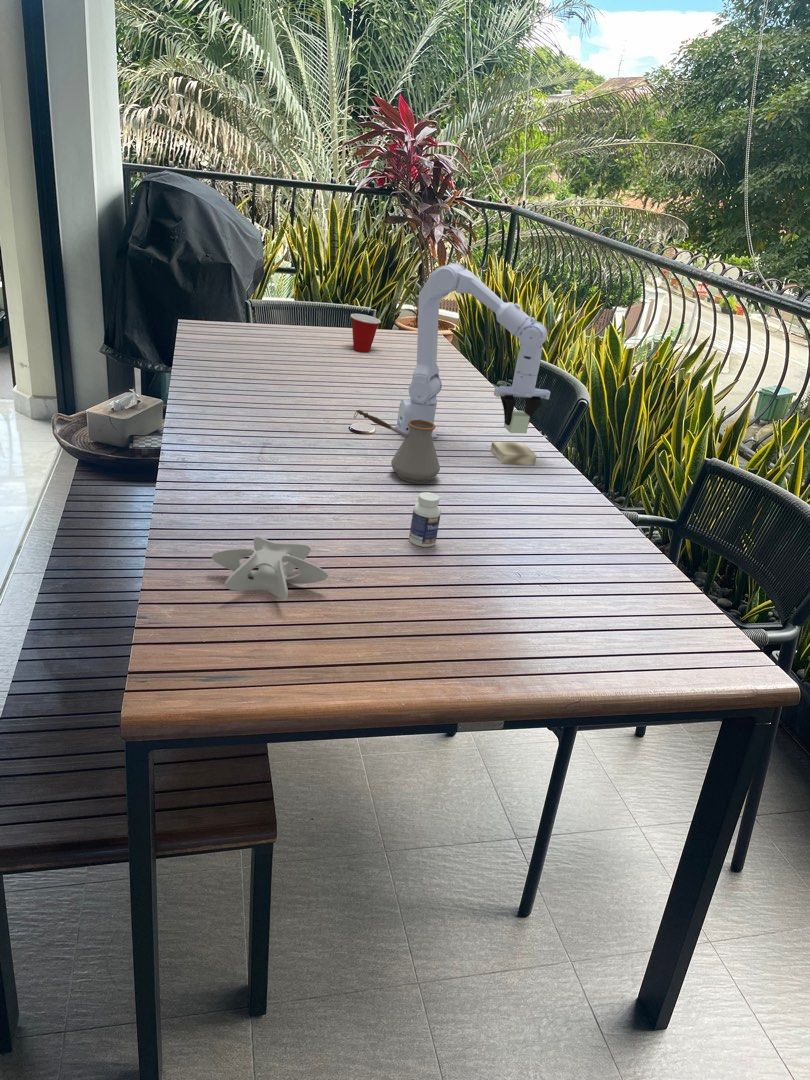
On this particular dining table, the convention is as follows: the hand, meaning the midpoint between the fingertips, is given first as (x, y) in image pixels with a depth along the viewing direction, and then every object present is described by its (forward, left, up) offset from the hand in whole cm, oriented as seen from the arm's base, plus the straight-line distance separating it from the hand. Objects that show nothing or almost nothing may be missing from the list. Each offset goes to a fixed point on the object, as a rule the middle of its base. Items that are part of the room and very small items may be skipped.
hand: (516, 424), depth 214 cm
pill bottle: (-39, -49, -9) cm, 63 cm away
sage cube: (0, 0, -2) cm, 2 cm away
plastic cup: (-17, +101, -9) cm, 103 cm away
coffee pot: (-36, -15, -9) cm, 40 cm away
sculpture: (-71, -64, -9) cm, 96 cm away
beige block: (0, -2, -9) cm, 9 cm away
